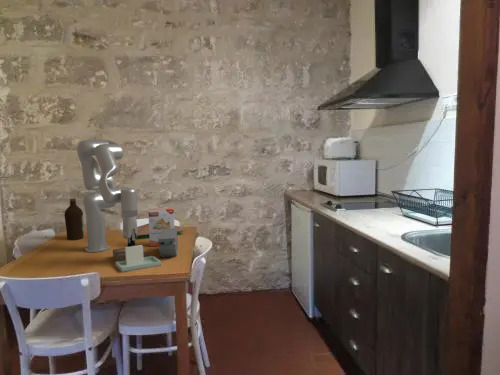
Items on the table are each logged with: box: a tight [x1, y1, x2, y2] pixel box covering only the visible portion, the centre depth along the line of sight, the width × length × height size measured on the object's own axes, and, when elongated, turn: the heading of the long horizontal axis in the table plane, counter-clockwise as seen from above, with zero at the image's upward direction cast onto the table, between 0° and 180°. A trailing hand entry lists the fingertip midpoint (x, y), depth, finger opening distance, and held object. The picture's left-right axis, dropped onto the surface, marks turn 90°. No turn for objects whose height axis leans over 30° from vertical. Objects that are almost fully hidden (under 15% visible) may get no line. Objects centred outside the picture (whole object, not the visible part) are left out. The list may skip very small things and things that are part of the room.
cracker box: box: [148, 207, 175, 248], centre depth 224 cm, size 14×6×21 cm, turn 102°
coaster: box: [124, 244, 144, 265], centre depth 187 cm, size 8×8×2 cm
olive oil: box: [63, 198, 84, 241], centre depth 246 cm, size 11×11×25 cm
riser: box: [112, 247, 149, 262], centre depth 197 cm, size 16×13×4 cm
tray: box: [114, 255, 162, 273], centre depth 185 cm, size 12×18×2 cm, turn 122°
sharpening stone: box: [158, 228, 179, 258], centre depth 205 cm, size 25×8×11 cm, turn 7°
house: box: [135, 222, 185, 240], centre depth 254 cm, size 23×33×8 cm
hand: (131, 250), depth 194 cm, fingers closed
